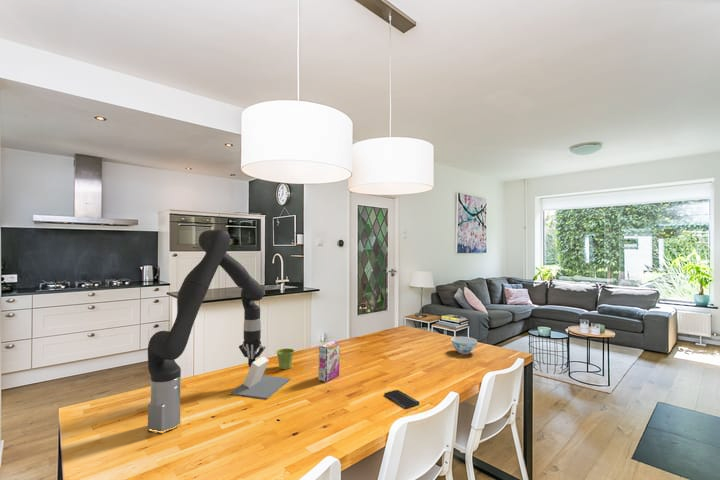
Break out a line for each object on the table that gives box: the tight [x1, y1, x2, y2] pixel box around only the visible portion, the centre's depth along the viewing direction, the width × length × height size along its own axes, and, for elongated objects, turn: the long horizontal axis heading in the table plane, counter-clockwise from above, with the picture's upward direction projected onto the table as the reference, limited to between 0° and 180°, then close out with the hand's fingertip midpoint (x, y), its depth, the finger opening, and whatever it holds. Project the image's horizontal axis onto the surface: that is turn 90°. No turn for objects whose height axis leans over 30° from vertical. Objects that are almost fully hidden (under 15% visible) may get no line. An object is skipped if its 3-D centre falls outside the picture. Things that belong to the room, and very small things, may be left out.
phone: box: [383, 389, 420, 410], centre depth 145 cm, size 8×1×15 cm
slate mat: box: [229, 374, 292, 400], centre depth 157 cm, size 22×18×1 cm
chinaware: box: [450, 336, 478, 355], centre depth 209 cm, size 15×15×8 cm
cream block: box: [242, 356, 270, 388], centre depth 158 cm, size 9×4×11 cm, turn 164°
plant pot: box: [275, 348, 296, 370], centre depth 182 cm, size 9×9×9 cm
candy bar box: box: [318, 340, 341, 383], centre depth 168 cm, size 11×5×16 cm, turn 149°
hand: (251, 366), depth 159 cm, fingers closed
